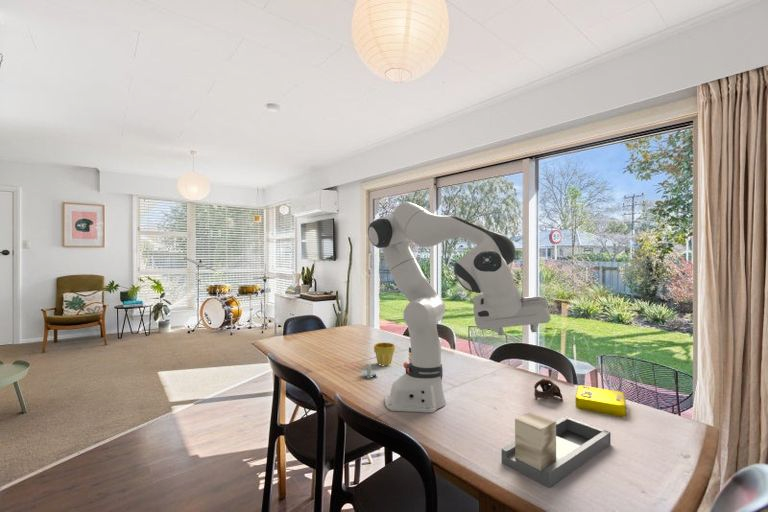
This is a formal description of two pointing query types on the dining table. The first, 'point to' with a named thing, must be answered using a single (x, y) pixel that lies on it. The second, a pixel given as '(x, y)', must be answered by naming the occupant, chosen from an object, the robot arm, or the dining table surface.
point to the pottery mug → (547, 389)
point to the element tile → (601, 401)
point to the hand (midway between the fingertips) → (517, 332)
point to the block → (535, 440)
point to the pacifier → (368, 371)
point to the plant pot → (384, 353)
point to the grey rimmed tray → (563, 451)
